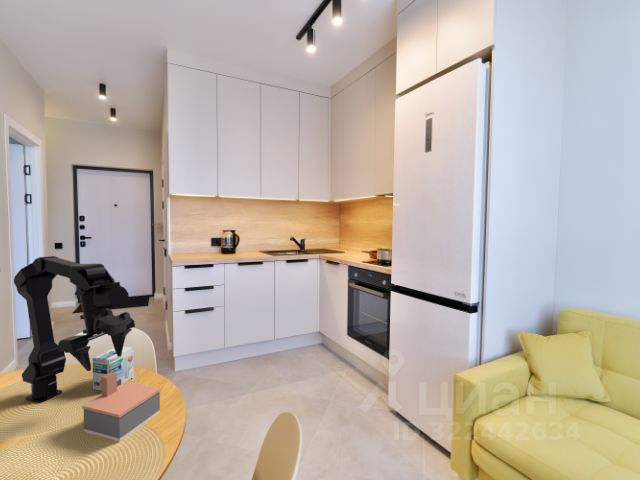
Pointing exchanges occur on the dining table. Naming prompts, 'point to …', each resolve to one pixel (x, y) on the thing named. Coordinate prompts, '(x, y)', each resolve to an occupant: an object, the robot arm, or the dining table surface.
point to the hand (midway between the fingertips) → (105, 363)
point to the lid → (119, 396)
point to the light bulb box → (113, 366)
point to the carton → (121, 420)
